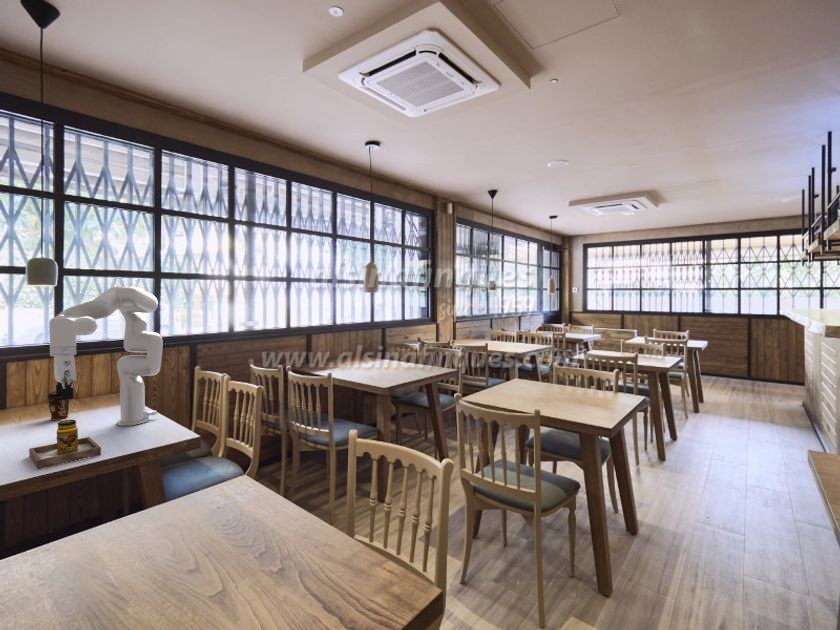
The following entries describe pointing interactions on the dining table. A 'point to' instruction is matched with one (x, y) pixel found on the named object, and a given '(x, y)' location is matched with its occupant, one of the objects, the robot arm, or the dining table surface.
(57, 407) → the coffee cup
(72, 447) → the condiment
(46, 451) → the tray
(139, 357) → the robot arm
